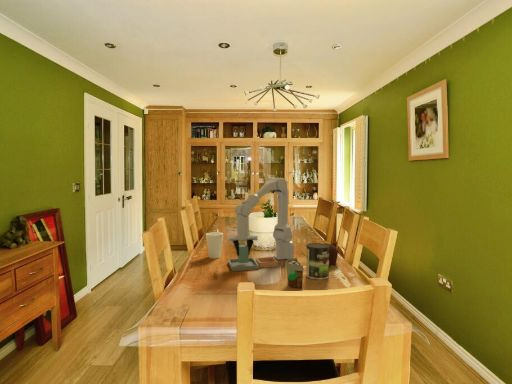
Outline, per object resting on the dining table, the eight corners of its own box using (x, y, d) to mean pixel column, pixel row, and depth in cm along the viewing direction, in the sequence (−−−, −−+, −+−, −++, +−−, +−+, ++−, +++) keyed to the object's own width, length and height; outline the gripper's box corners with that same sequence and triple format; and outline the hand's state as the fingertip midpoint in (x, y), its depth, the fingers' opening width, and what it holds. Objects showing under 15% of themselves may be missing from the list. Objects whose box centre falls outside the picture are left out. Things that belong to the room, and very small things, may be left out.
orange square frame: (272, 261, 176) (272, 256, 176) (277, 266, 167) (277, 261, 167) (255, 262, 174) (255, 257, 174) (259, 267, 165) (259, 262, 165)
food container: (282, 280, 146) (282, 258, 145) (296, 280, 147) (296, 257, 146) (287, 290, 134) (287, 266, 133) (303, 290, 134) (303, 265, 134)
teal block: (246, 260, 171) (246, 244, 170) (248, 262, 166) (248, 246, 166) (237, 260, 170) (237, 245, 169) (239, 263, 165) (239, 247, 165)
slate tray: (252, 261, 176) (252, 257, 176) (258, 269, 163) (258, 265, 163) (228, 263, 173) (228, 259, 173) (232, 271, 160) (232, 266, 160)
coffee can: (333, 277, 150) (334, 246, 149) (315, 281, 145) (315, 249, 144) (319, 271, 159) (319, 242, 158) (301, 274, 154) (301, 244, 154)
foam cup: (220, 259, 180) (220, 235, 179) (203, 258, 182) (203, 235, 181) (225, 255, 190) (225, 232, 189) (209, 254, 191) (209, 231, 191)
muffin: (319, 259, 180) (319, 240, 180) (340, 261, 176) (340, 242, 175) (313, 265, 170) (313, 245, 169) (335, 267, 165) (335, 247, 164)
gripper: (229, 230, 161) (229, 258, 162) (259, 228, 164) (259, 256, 165) (227, 227, 168) (227, 254, 169) (255, 226, 171) (255, 252, 172)
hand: (243, 255), depth 168 cm, fingers closed on teal block, 4 cm apart
